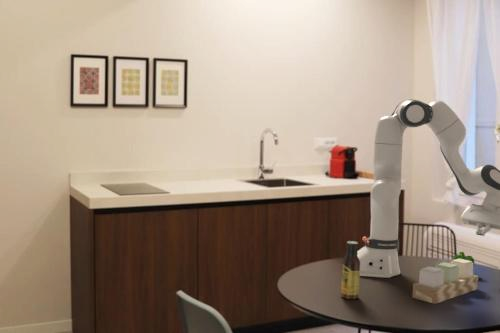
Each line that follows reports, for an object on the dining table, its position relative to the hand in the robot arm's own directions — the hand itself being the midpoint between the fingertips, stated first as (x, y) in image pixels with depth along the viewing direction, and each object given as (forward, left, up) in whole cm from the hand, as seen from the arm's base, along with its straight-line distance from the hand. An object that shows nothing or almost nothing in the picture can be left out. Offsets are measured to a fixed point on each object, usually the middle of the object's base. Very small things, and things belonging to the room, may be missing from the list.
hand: (479, 234), depth 237 cm
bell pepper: (-2, +11, -19) cm, 22 cm away
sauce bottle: (-54, -21, -19) cm, 61 cm away
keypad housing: (-17, -14, -19) cm, 29 cm away
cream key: (-9, -8, -16) cm, 20 cm away
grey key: (-25, -21, -16) cm, 36 cm away
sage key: (-17, -14, -16) cm, 27 cm away
